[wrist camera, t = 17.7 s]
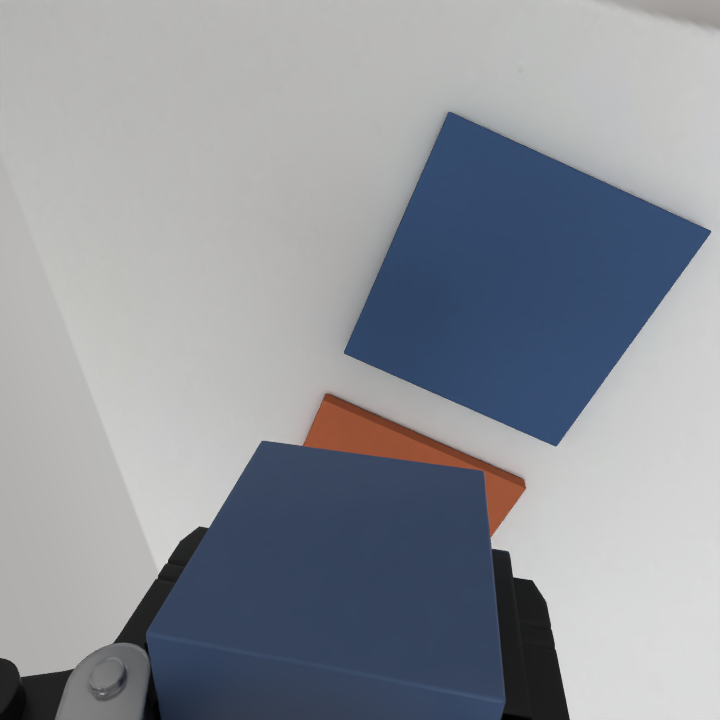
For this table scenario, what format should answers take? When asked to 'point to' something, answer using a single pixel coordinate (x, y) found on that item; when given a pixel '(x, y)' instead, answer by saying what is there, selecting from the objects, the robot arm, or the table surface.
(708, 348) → the table surface
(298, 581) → the blue block
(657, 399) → the table surface
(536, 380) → the blue mat
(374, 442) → the terracotta mat
